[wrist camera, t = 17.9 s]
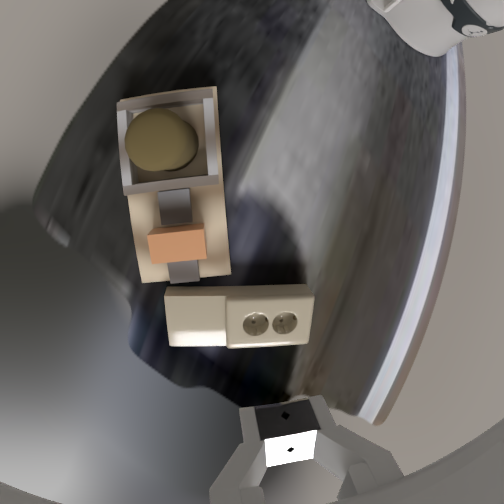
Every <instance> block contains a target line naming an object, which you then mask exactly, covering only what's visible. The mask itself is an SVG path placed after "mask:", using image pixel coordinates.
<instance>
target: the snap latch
mask: <svg viewBox="0 0 504 504" xmlns="http://www.w3.org/2000/svg"><path fill="white" fill-rule="evenodd" d="M147 239H148V245H149V251H150V257H151V262H152V264H159V263H169V262H179V261H189V260H199V259H207V244H206V235H205V226H204V223H200V224H190V225H181V226H172V227H163V228H154V229H152V230H151V231H150V232H149V233H148V235H147Z"/></svg>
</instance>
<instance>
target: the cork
mask: <svg viewBox="0 0 504 504" xmlns="http://www.w3.org/2000/svg"><path fill="white" fill-rule="evenodd" d="M124 141H125V149H126V152H127V154H128V157H129V158H130V159H131V161H132V162H133V163H134V164H135V165H136V166H138V167H140V168H142V169H143V170H148V171H160V170H164V171H169V172H171V171H178V170H181V169H183V168H185V167H187V166H188V165H189V164H190V163H191V162H192V161H193V160H194V158H195V156H196V155H197V152H198V147H199V140H198V135H197V133H196V131H195V129H194V128H193V127H192V126H191V125H190V124H189V123H187V122H186V121H184V120H182V119H181V118H180V117H179V116H178V114H176V113H174V112H173V111H171V110H169V109H164V108H154V109H148V110H146V111H144V112H142V113H140V114H138V115H137V116H136V117H135V118H134V119H133V120H132V121H131V123H130V124H129V126H128V128H127V130H126V134H125V139H124Z"/></svg>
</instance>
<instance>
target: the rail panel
mask: <svg viewBox="0 0 504 504" xmlns="http://www.w3.org/2000/svg"><path fill="white" fill-rule="evenodd" d="M154 108H164V109H169V110H171V111H173V112H174V113H176V114H178V116H179V117H180V118H181V119H182V120H184V121H186V122H187V123H189V124H190V125H191V126H192V127H193V128H194V129H195V131H196V133H197V135H198V140H199V147H198V152H197V155H196V156H195V158H194V160H193V161H192V162H191V163H190V164H189V165H188V166H187V167H185V168H183V169H181V170H178V171H171V172H169V171H164V170H160V171H148V170H143V169H142V168H140V167H138V166H136V165H135V164H134V163H133V162H132V161H131V159H130V158H129V157H128V154H127V152H126V149H125V141H124V139H125V134H126V130H127V128H128V126H129V124H130V123H131V121H132V120H133V119H134V118H135V117H136V116H137V115H138V114H140V113H142V112H144V111H146V110H148V109H154ZM117 122H118V139H119V152H120V164H121V174H122V183H123V192H124V196H126V195H128V202H129V209H130V217H131V223H132V230H133V236H134V242H135V248H136V253H137V259H138V264H139V269H140V274H141V279H142V283H148V282H159V281H170V283H171V284H172V283H183V282H193V281H200V278H201V277H211V276H221V275H230V274H231V267H230V257H229V246H228V235H227V223H226V211H225V199H224V187H223V174H222V161H221V147H220V133H219V118H218V102H217V86H213V87H202V88H192V89H183V90H175V91H168V92H161V93H154V94H148V95H143V96H137V97H132V98H127V99H122V100H120V102H118V103H117ZM200 223H204V226H205V235H206V244H207V259H199V260H189V261H179V262H169V263H159V264H152V262H151V257H150V251H149V245H148V239H147V235H148V233H149V232H150V231H151V230H152V229H154V228H163V227H172V226H181V225H190V224H200Z"/></svg>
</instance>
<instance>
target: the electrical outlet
mask: <svg viewBox="0 0 504 504" xmlns="http://www.w3.org/2000/svg"><path fill="white" fill-rule="evenodd" d="M314 299H315V297H314V295H313V293H312V292H311V290H310V289H309V288H308V286H307V285H306V284H292V285H258V286H200V287H167V289H166V292H165V295H164V300H165V310H166V319H167V328H168V336H169V344H170V346H225V345H226V346H227V347H228V348H251V347H269V346H284V345H297V344H306V343H308V342H309V335H310V328H311V321H312V314H313V307H314Z"/></svg>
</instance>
